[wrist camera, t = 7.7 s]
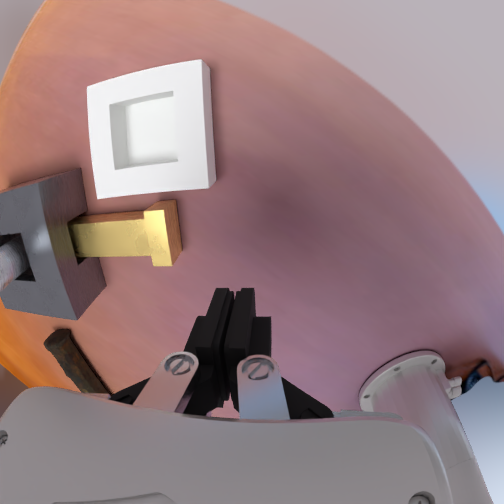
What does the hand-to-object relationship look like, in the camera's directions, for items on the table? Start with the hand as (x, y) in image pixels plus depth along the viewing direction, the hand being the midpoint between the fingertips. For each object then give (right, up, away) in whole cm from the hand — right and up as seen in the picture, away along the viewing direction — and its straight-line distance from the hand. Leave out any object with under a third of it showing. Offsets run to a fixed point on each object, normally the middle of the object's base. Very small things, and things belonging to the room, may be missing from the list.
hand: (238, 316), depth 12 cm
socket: (-20, +5, +11) cm, 24 cm away
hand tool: (-21, -15, +21) cm, 33 cm away
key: (-12, +5, +11) cm, 17 cm away
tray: (-7, +12, +7) cm, 16 cm away
